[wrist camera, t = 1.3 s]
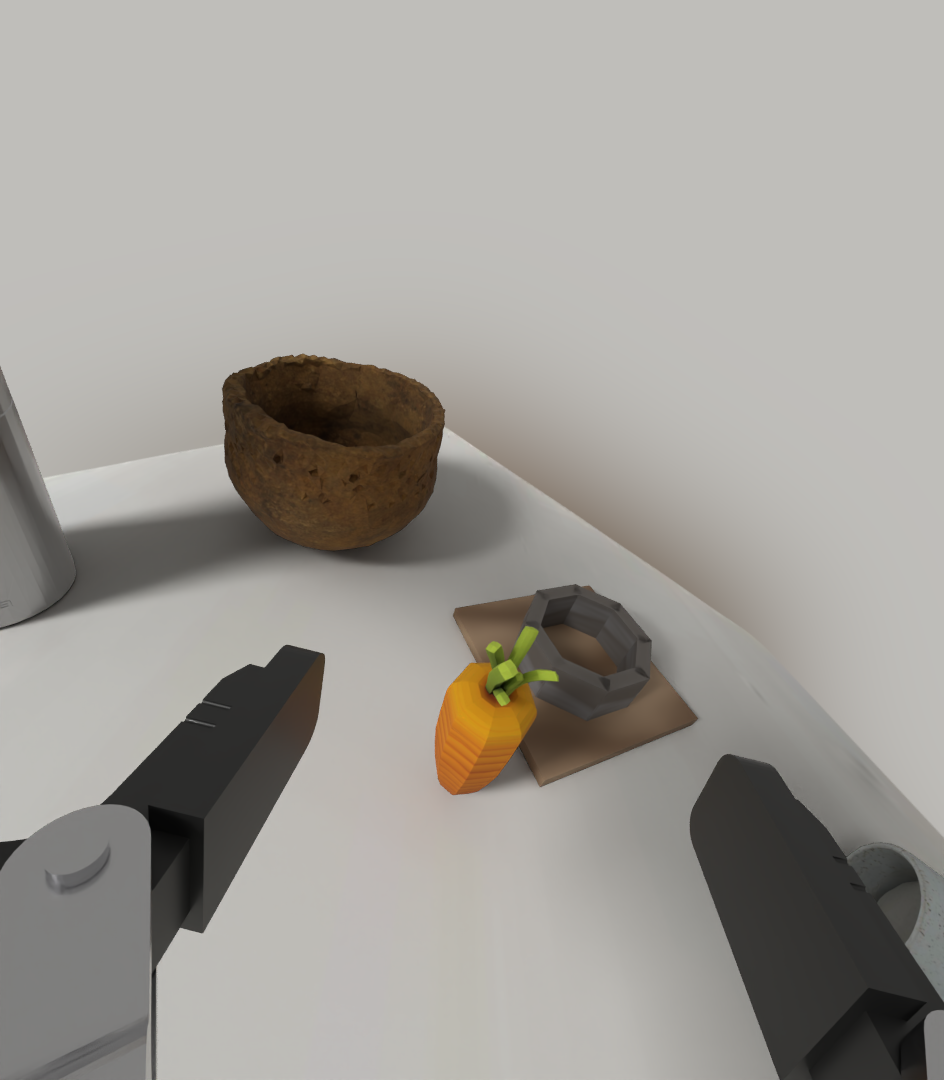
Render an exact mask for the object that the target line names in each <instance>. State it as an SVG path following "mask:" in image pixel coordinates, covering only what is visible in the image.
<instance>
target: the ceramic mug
mask: <svg viewBox="0 0 944 1080" xmlns="http://www.w3.org/2000/svg"><path fill="white" fill-rule="evenodd" d="M846 858H847V864H848V865H849V866H852V867H853V868H854V870H855V871H856V873H857V874H858V876H859V877H860V879H861V880H862V882H863V883H864V885H865V886H866V887H865V890H866V892H867V893H870V894H871V895H872V897H873V898H874V900H875V901H876V902H877V904H878V905H879V907H880V908H881V910H882V911H883V913H884V914H885V916H886V917H887V919H888V920H889V922H890V923H891V925H892V926H893V928H894V929H895V931H896V932H897V934H898V935H899V937H900V938H901V939H902V941H903V942H904V944H905V945H906V947H907V948H908V950H909V951H910V953H911V954H912V956H913V957H914V959H915V960H916V962H917V963H918V965H919V966H920V968H921V969H922V971H923V972H924V974H925V975H926V976H927V978H928V979H929V981H930V982H931V984H932V985H933V987H934V988H935V990H936V991H937V993H938V994H939V996H940V997H941V999H942V1000H943V1002H944V878H943V877H942V876H941V875H939V874H938V873H937V872H935V871H934V870H933V869H931V868H930V867H928V866H927V865H926V864H924V863H923V862H922V861H920V860H919V859H918V858H916V857H915V856H914V855H912V854H911V853H909V852H907V851H906V850H904V849H902V848H900V847H898V846H896V845H893V844H889V843H871V844H868V845H864V846H861V847H860V848H858V849H857V850H855V851H854V852H853V853H851V854H850V855H849V856H848V857H846Z"/></svg>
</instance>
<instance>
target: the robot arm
mask: <svg viewBox="0 0 944 1080" xmlns="http://www.w3.org/2000/svg"><path fill="white" fill-rule="evenodd" d="M75 575H76V568H75V564H74V561H73V558H72V556H71V553H70V550H69V548H68V545H67V542H66V540H65V537H64V534H63V532H62V529H61V526H60V523H59V520H58V518H57V515H56V512H55V510H54V507H53V504H52V502H51V499H50V496H49V494H48V491H47V488H46V486H45V483H44V480H43V478H42V475H41V472H40V470H39V467H38V465H37V462H36V459H35V457H34V454H33V451H32V449H31V446H30V443H29V441H28V438H27V435H26V433H25V430H24V428H23V425H22V422H21V420H20V417H19V414H18V411H17V409H16V407H15V404H14V401H13V399H12V396H11V394H10V391H9V388H8V386H7V383H6V380H5V378H4V375H3V372H2V370H1V367H0V628H1V627H4V626H8V625H11V624H15V623H17V622H20V621H22V620H25V619H27V618H30V617H32V616H34V615H36V614H38V613H40V612H41V611H43V610H45V609H47V608H49V607H50V606H51V605H53V604H54V603H55V602H57V601H58V600H59V599H61V598H62V596H63V595H64V594H65V593H66V592H67V591H68V590H69V589H70V587H71V585H72V584H73V582H74V580H75ZM324 666H325V655H324V654H323V653H319V652H315V651H311V650H307V649H303V648H299V647H295V646H291V645H285V646H283V647H282V648H281V649H280V650H279V652H278V653H277V654H276V655H275V656H274V657H273V659H272V660H271V661H270V662H269V663H268V664H267V666H266V667H265V668H264V667H260V666H256V665H252V664H249V665H247V666H245V667H243V668H242V669H240V670H238V671H236V672H234V673H232V674H230V675H228V676H227V677H225V678H223V679H222V680H221V681H220V682H219V683H218V684H217V685H216V686H215V687H214V688H213V689H212V690H211V691H210V692H209V693H208V694H207V696H206V697H205V698H204V699H203V701H202V703H201V704H200V703H199V704H198V705H197V706H196V707H195V708H194V709H193V710H192V711H191V712H190V713H189V714H188V715H187V716H186V719H185V721H184V722H181V723H180V724H179V725H178V726H177V727H176V728H175V729H174V730H173V731H172V732H171V733H170V734H169V735H168V736H167V737H166V738H165V739H164V740H163V741H162V742H161V743H160V745H159V746H158V747H157V748H156V749H155V750H154V751H153V752H152V753H151V754H150V755H149V756H148V757H147V758H146V759H145V760H144V761H143V762H142V763H141V764H140V765H139V766H138V767H137V769H136V770H135V771H134V772H133V773H132V774H131V775H130V776H129V777H128V778H127V779H126V780H125V781H124V782H123V783H122V784H121V785H120V786H119V787H118V788H117V789H116V790H115V791H114V792H113V794H112V795H110V796H109V797H108V798H107V799H106V800H105V801H104V802H103V803H102V804H100V805H97V806H92V807H87V808H83V809H80V810H77V811H74V812H72V813H69V814H67V815H65V816H62V817H60V818H58V819H56V820H54V821H53V822H51V823H49V824H47V825H46V826H44V827H43V828H41V829H40V830H38V831H37V832H35V833H34V834H33V835H32V836H30V837H29V838H28V839H23V840H16V841H7V842H0V1080H157V965H158V963H159V961H160V960H161V958H162V956H163V955H164V953H165V951H166V950H167V948H168V946H169V945H170V943H171V941H172V940H173V938H174V936H175V935H176V933H177V932H178V930H179V928H183V929H187V930H191V931H195V932H199V933H203V932H204V930H205V929H206V927H207V925H208V923H209V921H210V920H211V918H212V916H213V914H214V913H215V911H216V909H217V907H218V905H219V904H220V902H221V900H222V898H223V896H224V895H225V893H226V891H227V889H228V888H229V886H230V884H231V882H232V880H233V879H234V877H235V875H236V873H237V871H238V870H239V868H240V866H241V864H242V863H243V861H244V859H245V857H246V855H247V854H248V852H249V850H250V848H251V846H252V845H253V843H254V841H255V839H256V838H257V836H258V834H259V832H260V830H261V829H262V827H263V825H264V823H265V821H266V820H267V818H268V816H269V814H270V813H271V811H272V809H273V807H274V805H275V804H276V802H277V800H278V798H279V796H280V795H281V793H282V791H283V789H284V788H285V786H286V784H287V782H288V780H289V779H290V777H291V775H292V773H293V771H294V770H295V768H296V766H297V764H298V763H299V761H300V759H301V757H302V755H303V754H304V752H305V750H306V748H307V746H308V744H309V742H310V740H311V737H312V735H313V732H314V729H315V726H316V723H317V718H318V713H319V706H320V698H321V690H322V682H323V674H324ZM690 835H691V840H692V844H693V847H694V850H695V852H696V855H697V858H698V860H699V863H700V866H701V868H702V871H703V874H704V877H705V879H706V882H707V885H708V887H709V890H710V893H711V895H712V898H713V901H714V904H715V906H716V909H717V912H718V914H719V917H720V920H721V922H722V925H723V928H724V931H725V933H726V936H727V939H728V941H729V944H730V947H731V949H732V952H733V955H734V958H735V960H736V963H737V966H738V968H739V971H740V974H741V977H742V979H743V982H744V985H745V987H746V990H747V993H748V995H749V998H750V1001H751V1004H752V1006H753V1009H754V1012H755V1014H756V1017H757V1020H758V1022H759V1025H760V1028H761V1031H762V1033H763V1036H764V1039H765V1041H766V1044H767V1047H768V1049H769V1052H770V1055H771V1058H772V1060H773V1063H774V1066H775V1068H776V1071H777V1074H778V1076H779V1079H780V1080H944V1002H943V1000H942V999H941V997H940V996H939V994H938V993H937V991H936V990H935V988H934V987H933V985H932V984H931V982H930V981H929V979H928V978H927V976H926V975H925V974H924V972H923V971H922V969H921V968H920V966H919V965H918V963H917V962H916V960H915V959H914V957H913V956H912V954H911V953H910V951H909V950H908V948H907V947H906V945H905V944H904V942H903V941H902V939H901V938H900V937H899V935H898V934H897V932H896V931H895V929H894V928H893V926H892V925H891V923H890V922H889V920H888V919H887V917H886V916H885V914H884V913H883V911H882V910H881V908H880V907H879V905H878V904H877V902H876V901H875V900H874V898H873V897H872V895H871V894H870V893H867V892H866V890H865V887H866V886H865V885H864V883H863V882H862V880H861V879H860V877H859V876H858V874H857V873H856V871H855V870H854V868H853V867H852V866H849V865H848V864H847V858H846V857H845V855H844V854H843V852H842V851H841V849H840V848H839V846H838V845H837V843H836V842H835V840H834V839H833V837H832V836H831V834H830V833H829V831H828V830H827V829H826V828H825V827H824V826H823V825H822V824H821V822H820V821H819V820H818V819H817V818H816V817H815V816H814V815H813V814H812V813H811V812H810V811H809V810H808V809H807V808H806V807H805V806H804V805H803V804H802V803H801V802H800V801H799V800H796V799H795V798H794V796H793V795H792V793H791V792H790V790H789V789H788V787H787V786H786V784H785V783H784V781H783V779H782V778H781V776H780V775H779V773H778V772H777V771H776V769H775V768H774V767H773V766H771V765H770V764H767V763H764V762H760V761H755V760H751V759H747V758H743V757H739V756H735V755H731V754H727V755H724V756H722V757H721V758H720V760H719V761H718V763H717V765H716V767H715V768H714V770H713V772H712V774H711V776H710V778H709V779H708V781H707V783H706V785H705V787H704V788H703V790H702V792H701V794H700V796H699V798H698V799H697V801H696V803H695V805H694V807H693V809H692V812H691V817H690Z"/></svg>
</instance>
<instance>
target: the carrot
mask: <svg viewBox="0 0 944 1080" xmlns="http://www.w3.org/2000/svg"><path fill="white" fill-rule="evenodd" d="M538 632H539V631H538V630H537V629H535V628H534V627H529V626H525V628H524V629H523V631H522V632H521V634H520V636H519V638H518V640H517V642H516V644H515V646H514V648H513V650H512V652H511V654H510V656H509V658H508V660H507V661H505V658H504V651H503V648H502V645H501V644H499V643H498V642H495V641H493V642H491V643H490V644H489V645H488V646H487V648H486V652H487V655H488V657H489V660H490V663H470V664H469V665H468V666H467V667H466V668H465V669H464V671H463V672H462V673H461V674H460V675H459V676H458V677H457V678H456V680H455V681H454V682H453V683H452V684H451V685H450V686H449V688H448V689H447V691H446V694H445V698H444V701H443V704H442V707H441V710H440V714H439V718H438V722H437V726H436V733H435V759H436V767H437V774H438V780H439V782H440V785H442V786H443V787H444V788H445V789H446V790H447V791H448V792H450V793H451V794H452V795H458V794H468V793H472V792H477V791H479V790H480V789H482V788H483V787H485V786H486V785H488V784H489V783H490V782H491V781H492V780H494V779H495V778H496V777H497V776H498V774H499V773H500V772H501V770H502V769H503V768H504V766H505V765H506V764H507V762H508V761H509V759H510V758H511V756H512V755H513V753H514V752H515V750H516V749H517V747H518V746H519V744H520V743H521V741H522V739H523V738H524V736H525V735H526V733H527V731H528V730H529V728H530V727H531V725H532V723H533V722H534V720H535V718H536V716H537V709H536V706H535V703H534V700H533V697H532V694H531V691H530V688H529V684H528V683H530V682H535V681H557V682H559V676H558V675H557V673H556V672H555V671H551V670H542V669H537V670H533V671H529V672H527V673H524V674H522V673H521V672H518V671H517V668H518V666H519V665H520V663H521V662H522V660H523V659H524V657H525V655H526V654H527V652H528V651H529V649H530V647H531V646H532V644H533V642H534V641H535V639H536V637H537V635H538Z"/></svg>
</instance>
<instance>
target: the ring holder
mask: <svg viewBox="0 0 944 1080" xmlns="http://www.w3.org/2000/svg"><path fill="white" fill-rule="evenodd" d="M453 617H454V619H455V621H456V622H457V624H458V626H459V628H460V630H461V632H462V634H463V636H464V638H465V640H466V642H467V644H468V646H469V648H470V650H471V652H472V654H473V656H474V658H475V660H476V662H477V663H490V660H489V657H488V655H487V652H486V648H487V646H488V645H489V644H490V643H491V642H493V641H495V642H498V643H499V644H501V645H502V648H503V651H504V658H505V661H507V660H508V658H509V656H510V654H511V652H512V650H513V648H514V646H515V644H516V642H517V640H518V638H519V636H520V634H521V632H522V631H523V629H524V628H525V626H529V627H534V628H535V629H537V630H538V631H539V632H538V635H537V637H536V639H535V641H534V642H533V644H532V646H531V647H530V649H529V651H528V652H527V654H526V655H525V657H524V659H523V660H522V662H521V663H520V665H519V666H518V668H517V671H518V672H521V673H522V674H524V673H527V672H529V671H533V670H537V669H542V670H551V671H555V672H556V673H557V675H558V676H559V682H557V681H535V682H530V683H528V684H529V688H530V691H531V694H532V697H533V700H534V703H535V706H536V709H537V716H536V718H535V720H534V722H533V723H532V725H531V727H530V728H529V730H528V731H527V733H526V735H525V736H524V738H523V739H522V741H521V743H520V744H519V747H520V749H521V751H522V753H523V755H524V757H525V759H526V761H527V762H528V764H529V766H530V768H531V770H532V772H533V774H534V776H535V778H536V780H537V782H538V784H539V786H540V787H541V786H544V785H546V784H549V783H551V782H554V781H556V780H559V779H561V778H563V777H566V776H568V775H571V774H573V773H576V772H578V771H580V770H583V769H585V768H588V767H590V766H593V765H595V764H598V763H600V762H602V761H605V760H607V759H610V758H612V757H615V756H617V755H620V754H622V753H624V752H627V751H629V750H632V749H634V748H637V747H639V746H642V745H644V744H646V743H649V742H651V741H654V740H656V739H659V738H661V737H663V736H666V735H668V734H671V733H673V732H676V731H678V730H681V729H683V728H685V727H688V726H690V725H692V724H693V723H694V722H695V721H696V720H697V719H698V718H697V717H696V716H695V714H694V713H693V712H692V711H691V709H690V708H689V707H688V706H687V704H686V703H685V702H684V701H683V700H682V698H681V697H680V696H679V695H678V693H677V692H676V691H675V690H674V689H673V687H672V686H671V685H670V684H669V682H668V681H667V680H666V679H665V677H664V676H663V675H662V674H661V673H660V671H659V670H658V669H657V668H656V666H655V665H654V664H653V663H652V662H651V639H650V638H649V637H648V636H647V635H646V634H645V632H644V631H643V630H642V629H641V628H640V626H639V625H638V624H637V623H636V622H635V621H634V619H633V618H632V617H631V616H630V615H629V613H628V612H627V611H626V610H625V609H624V608H623V606H622V605H621V604H620V603H618V602H615V601H613V600H611V599H608V598H606V597H604V596H601V595H599V594H597V593H595V592H594V590H593V589H592V588H591V587H590V586H584V587H580V586H578V585H576V584H575V585H569V586H563V587H557V588H551V589H545V590H539V591H538V590H537V592H536V594H535V595H531V596H525V597H519V598H513V599H507V600H501V601H495V602H490V603H484V604H478V605H472V606H466V607H460V608H455V611H454V614H453Z"/></svg>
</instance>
